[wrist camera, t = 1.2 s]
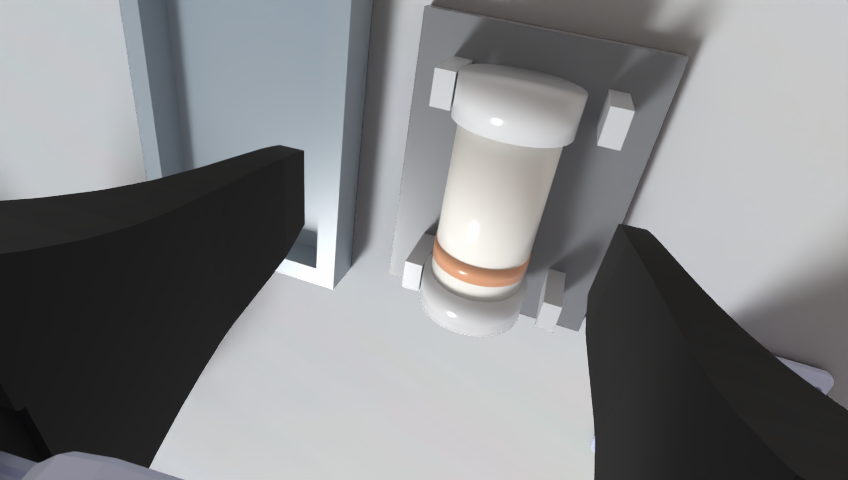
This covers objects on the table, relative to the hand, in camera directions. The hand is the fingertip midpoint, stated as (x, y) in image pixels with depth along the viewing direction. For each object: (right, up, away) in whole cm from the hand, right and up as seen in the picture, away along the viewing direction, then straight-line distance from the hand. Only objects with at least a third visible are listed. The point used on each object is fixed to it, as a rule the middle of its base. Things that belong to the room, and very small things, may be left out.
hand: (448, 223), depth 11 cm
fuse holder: (+3, +2, +11) cm, 12 cm away
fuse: (+3, +2, +11) cm, 11 cm away
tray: (-9, +6, +14) cm, 17 cm away
